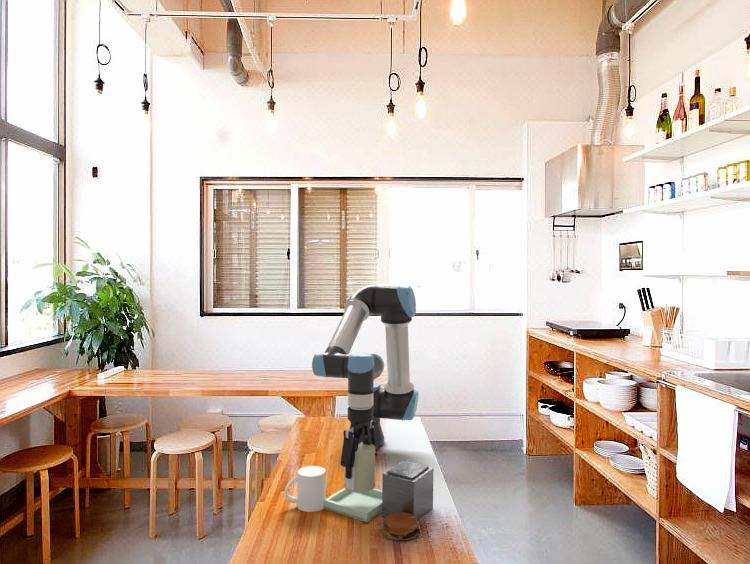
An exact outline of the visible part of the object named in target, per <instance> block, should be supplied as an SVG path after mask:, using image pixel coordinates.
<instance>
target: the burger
mask: <svg viewBox="0 0 750 564" xmlns="http://www.w3.org/2000/svg"><path fill="white" fill-rule="evenodd" d="M420 533H421V529H420V526H419V521H418V520H417V518H416V516H414V515H412V514H409V513H404V512H396V513H392V514H390V515H388V516H387V517H384V518H383V521H382V534H383V535H384V537H385V538H386V539H389V540H392V541H409V540H411V539H415V538H416V537H418V535H420Z"/></svg>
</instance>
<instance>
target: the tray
mask: <svg viewBox="0 0 750 564" xmlns="http://www.w3.org/2000/svg"><path fill="white" fill-rule="evenodd" d="M323 510H327V511H331V512H333V513H336V514H339V515H342V516H345V517H349V518H352V519H355V520H357V521H360V522H364V523H368V522H370V521H371V520H373V519H374V518H375V517H377V516H378V515H379V514H380V513H381V514H382V489H378V488H376V487H375V488H374V489H373V490H371V491H368V492H361V493H357V492H351V491H348V490H346V489H345V488H344V487H343V488H342V489H340V490H338V491H336V492H335V493H333V494H331V495H330V496H328V497H326V499H325V500H324V508H323Z"/></svg>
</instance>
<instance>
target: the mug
mask: <svg viewBox="0 0 750 564" xmlns="http://www.w3.org/2000/svg"><path fill="white" fill-rule="evenodd" d="M326 479H327V471H326V469H325V468H324V467H323V466H318V465H308V466H303V467H301V468H299V469H298V470H297V475H296V476H294V477H292V478H291V479H290V480H289V481H288V483H287V484H286V486H285V488H284V492H283V494H284V498H285V499H286V501H288V502H290V503H293V504H296V506H297V508H298V510H299V511H302V512H305V513H315V512H319V511H321V510H324V500H325V499H326V498H327V497H326V495H327V491H326V490H327V485H326V484H327V481H326ZM296 483H297V485H296V486H297V488H296V489H297V491H296V492H297V494H296V495H297V496H292V495H290V493H289V489H290V487H292V485H293V484H296Z"/></svg>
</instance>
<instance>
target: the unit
mask: <svg viewBox="0 0 750 564" xmlns="http://www.w3.org/2000/svg"><path fill="white" fill-rule="evenodd" d="M381 482H382V485H381V488H382V489H381V490H382V512H381V517H383V518H386V517H387V516H388V515H390V514H392V513H396V512H404V513H409V514H412V515H414V516H416V518H417V520H418V522H420V521H421V520H422V519H423V518H424V517H425V516H427V515H428V514H429V513H430V512H431V511H432V510H433V509H434V467H433V466H432V467H431V466H429V465H426V464H421V463H416V462H412V461H408V460H402V461H400V462H399V463H398V464H396V465H394V466H393V467H391V468H390V469H388V470H386V471H385V472H383V473H382V481H381Z"/></svg>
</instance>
